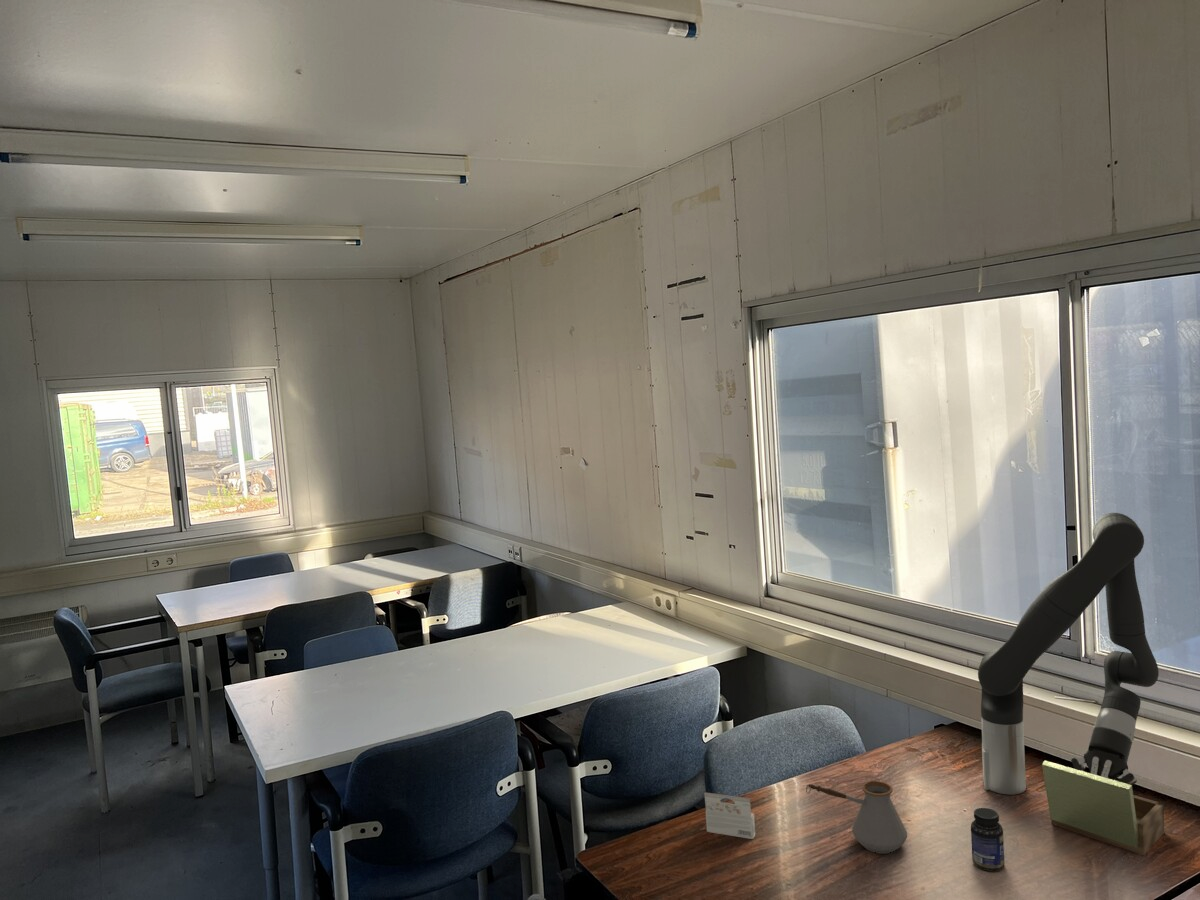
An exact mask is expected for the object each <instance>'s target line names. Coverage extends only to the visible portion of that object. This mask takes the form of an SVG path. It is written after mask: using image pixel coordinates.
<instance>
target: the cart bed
mask: <svg viewBox="0 0 1200 900" xmlns="http://www.w3.org/2000/svg"><path fill="white" fill-rule="evenodd" d="M1133 798H1134V805H1135V813H1136V820H1137V828H1138V835H1139V843H1140V844H1139V845H1138V847H1137V848H1135V847H1132V846H1129V845H1126V844H1123V843H1121V842H1118V841H1115V840H1112V839H1109V838H1106V837H1103V836H1100V835H1097V834H1094V833H1091V832H1088V831H1085V830H1082V829H1079V828H1076V827H1073V826H1070V825H1067V824H1064V823H1061V822H1058V821H1055V820H1052V819H1050V820H1051V821H1050V822H1051V823H1050V824H1051V825H1052V826H1056V827H1059V828H1061V829H1065V830H1067V831H1071V832H1073V833H1076V834H1080V835H1082V836H1086V837H1089V838H1091V839H1094V840H1097V841H1100V842H1103V843H1107V844H1109V845H1112V846H1115V847H1117V848H1120V849H1123V850H1127V851H1129V852H1132V853H1134V854H1138V855H1142V856H1145V855H1146V854H1147V853H1148V851H1149V850H1150V849H1151V848H1152V847H1153V846H1154V845H1155V844H1156V843H1157V842H1158V841H1159V840H1160V838H1161V837H1162V836H1163V835H1164V834H1165V810H1164V809H1165V807H1164V805H1165V804H1164V803H1162V802H1159V801H1156V800H1153V799H1149V798H1145V797H1143V796H1138V795H1135V794H1133Z"/></svg>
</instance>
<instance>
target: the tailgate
mask: <svg viewBox="0 0 1200 900" xmlns="http://www.w3.org/2000/svg"><path fill="white" fill-rule="evenodd" d="M1041 767H1042V768H1041V769H1042V775H1043V779H1044V785H1045V787H1044V788H1045V792H1046V793H1045V794H1046V799H1047V804H1048V811H1049V812H1048V813H1049V817H1050V818H1049V819H1050V820H1051V819H1052V820H1055V821H1058V822H1061V823H1064V824H1067V825H1070V826H1073V827H1076V828H1079V829H1082V830H1085V831H1088V832H1091V833H1094V834H1097V835H1100V836H1103V837H1106V838H1109V839H1112V840H1115V841H1118V842H1121V843H1123V844H1126V845H1129V846H1132V847H1135V848H1137V847H1138V845H1139V844H1140V843H1139V835H1138V828H1137V820H1136V813H1135V805H1134V798H1133V795H1134V791H1133V785H1129V784H1126V783H1122V782H1119V781H1117V780H1116V779H1115V780H1112V779H1108V778H1105V777H1101V776H1098V775H1094V774H1091V772H1087V771H1085V770H1083V771H1080V770H1077V769H1075V768H1074V767H1073V768H1072V767H1069V766H1066V765H1062V764H1059V763H1055V762H1052V761H1049V760H1044V761H1043V762H1042V763H1041Z"/></svg>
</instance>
